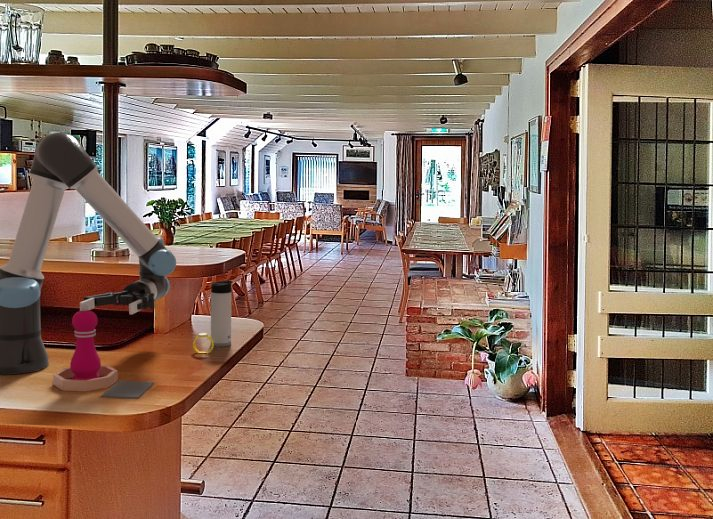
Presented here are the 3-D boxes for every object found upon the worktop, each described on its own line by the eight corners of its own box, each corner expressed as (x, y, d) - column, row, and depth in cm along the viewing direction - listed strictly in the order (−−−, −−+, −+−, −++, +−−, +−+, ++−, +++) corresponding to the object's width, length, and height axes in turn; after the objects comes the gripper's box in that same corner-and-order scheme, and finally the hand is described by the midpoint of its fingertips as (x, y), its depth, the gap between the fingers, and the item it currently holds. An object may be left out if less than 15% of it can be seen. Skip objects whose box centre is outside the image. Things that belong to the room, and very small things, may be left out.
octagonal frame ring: (45, 389, 170) (45, 379, 170) (70, 373, 184) (70, 364, 184) (102, 391, 170) (102, 381, 170) (123, 375, 184) (123, 366, 184)
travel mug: (234, 345, 218) (235, 282, 216) (214, 347, 215) (214, 283, 212) (228, 341, 224) (228, 279, 221) (208, 343, 220) (208, 280, 218)
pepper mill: (85, 376, 182) (83, 300, 179) (107, 380, 179) (106, 303, 177) (64, 384, 175) (62, 305, 173) (87, 388, 172) (85, 308, 170)
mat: (100, 397, 166) (100, 395, 166) (118, 382, 178) (118, 380, 178) (138, 398, 166) (138, 397, 166) (154, 383, 178) (154, 382, 178)
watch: (192, 355, 207) (191, 335, 206) (195, 352, 210) (193, 333, 209) (212, 354, 207) (211, 334, 206) (215, 352, 210) (213, 332, 209)
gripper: (180, 307, 205) (151, 324, 184) (99, 305, 208) (61, 320, 187) (180, 282, 204) (150, 295, 183) (98, 280, 207) (60, 293, 186)
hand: (105, 308), depth 185 cm, fingers open, 13 cm apart
